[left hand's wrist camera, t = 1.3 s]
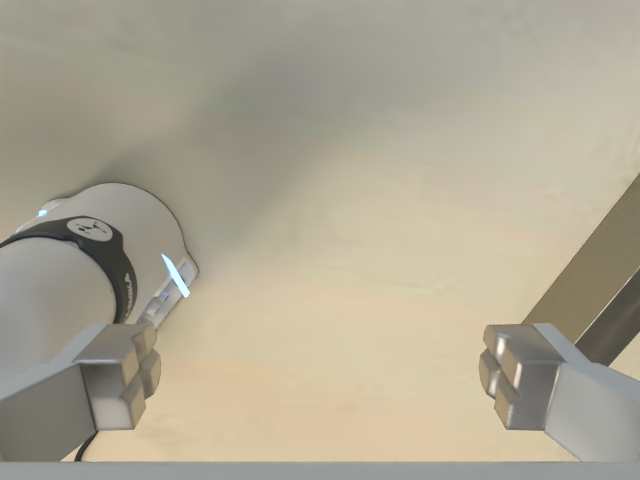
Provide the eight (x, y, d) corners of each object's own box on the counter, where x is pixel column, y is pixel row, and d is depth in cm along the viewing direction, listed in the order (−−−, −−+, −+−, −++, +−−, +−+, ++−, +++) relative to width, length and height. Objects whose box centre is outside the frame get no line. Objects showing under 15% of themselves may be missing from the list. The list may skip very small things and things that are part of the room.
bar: (542, 353, 55) (580, 397, 47) (510, 337, 54) (543, 379, 46) (687, 179, 47) (762, 195, 39) (652, 157, 46) (722, 169, 38)
